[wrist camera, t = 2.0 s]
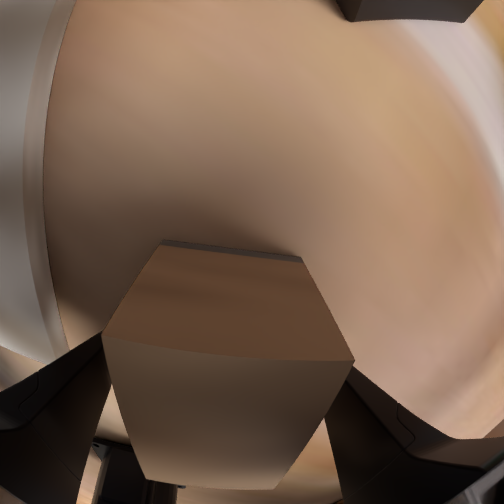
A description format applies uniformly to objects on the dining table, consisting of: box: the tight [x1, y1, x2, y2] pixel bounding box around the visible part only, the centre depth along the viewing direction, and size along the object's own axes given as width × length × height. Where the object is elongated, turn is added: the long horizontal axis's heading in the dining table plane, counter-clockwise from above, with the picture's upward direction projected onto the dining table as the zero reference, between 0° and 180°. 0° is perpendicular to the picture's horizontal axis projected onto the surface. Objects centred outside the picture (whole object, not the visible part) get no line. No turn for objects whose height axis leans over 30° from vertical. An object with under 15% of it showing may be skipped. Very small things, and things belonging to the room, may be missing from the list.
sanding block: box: [101, 240, 355, 490], centre depth 8 cm, size 7×4×5 cm, turn 171°
